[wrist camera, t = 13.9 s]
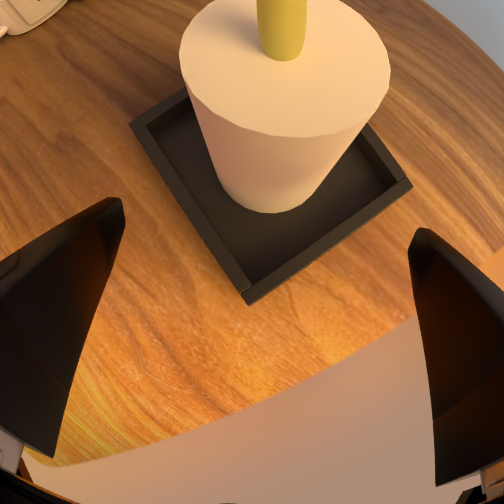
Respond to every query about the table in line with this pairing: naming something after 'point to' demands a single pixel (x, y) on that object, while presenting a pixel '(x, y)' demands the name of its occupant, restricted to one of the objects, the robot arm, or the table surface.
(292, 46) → the candle
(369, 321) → the table surface
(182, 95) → the shallow square tray
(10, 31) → the mug
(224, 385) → the table surface
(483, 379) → the robot arm
